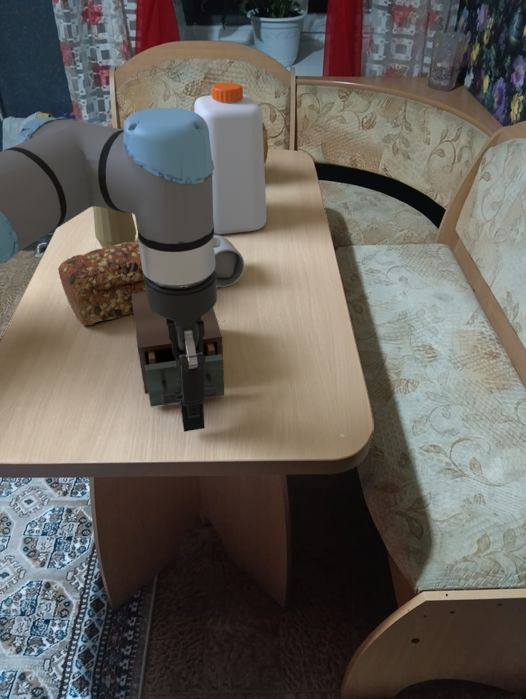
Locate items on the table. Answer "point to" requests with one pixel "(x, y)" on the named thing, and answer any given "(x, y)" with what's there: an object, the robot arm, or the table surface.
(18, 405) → the table surface
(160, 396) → the drawer
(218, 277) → the ceramic mug
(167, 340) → the cabinet
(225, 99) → the plastic bottle
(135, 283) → the bread
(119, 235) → the squeeze bottle
